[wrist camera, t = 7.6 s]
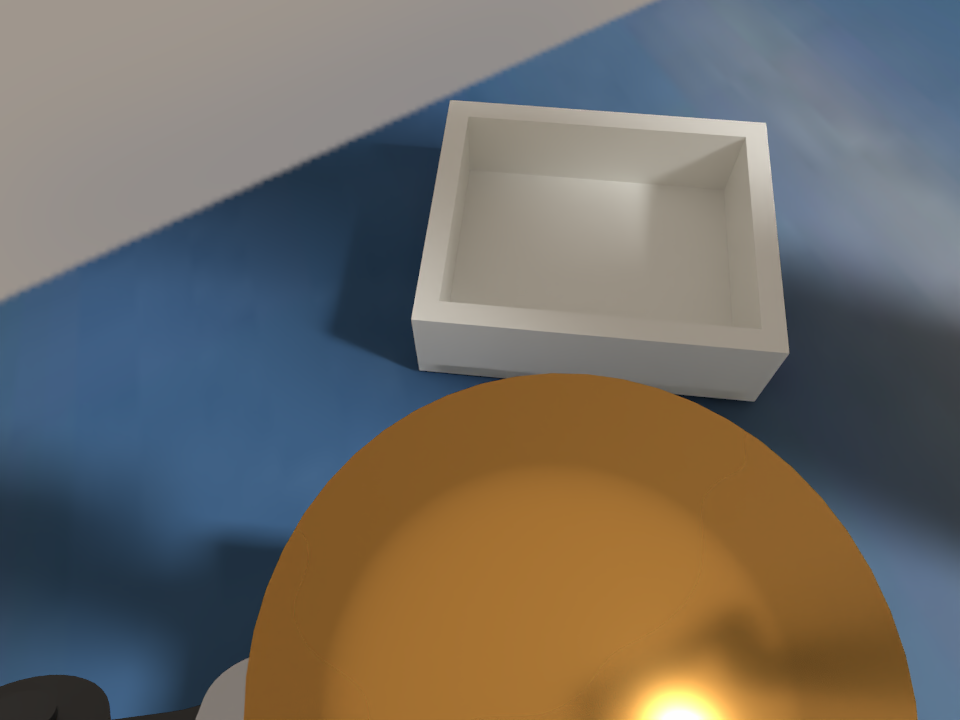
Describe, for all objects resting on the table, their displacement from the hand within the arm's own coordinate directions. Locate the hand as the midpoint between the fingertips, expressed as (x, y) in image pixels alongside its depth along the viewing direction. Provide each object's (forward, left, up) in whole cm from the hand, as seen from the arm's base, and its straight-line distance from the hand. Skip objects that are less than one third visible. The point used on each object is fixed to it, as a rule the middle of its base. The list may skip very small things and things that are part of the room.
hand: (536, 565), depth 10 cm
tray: (-2, -15, -14) cm, 20 cm away
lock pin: (0, +2, -6) cm, 6 cm away
